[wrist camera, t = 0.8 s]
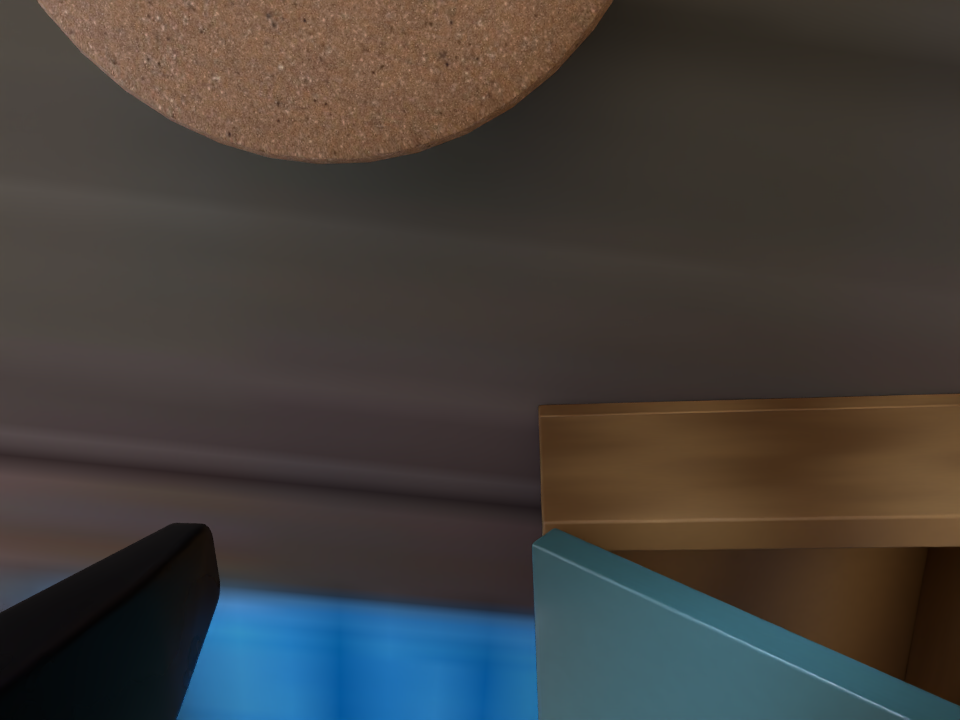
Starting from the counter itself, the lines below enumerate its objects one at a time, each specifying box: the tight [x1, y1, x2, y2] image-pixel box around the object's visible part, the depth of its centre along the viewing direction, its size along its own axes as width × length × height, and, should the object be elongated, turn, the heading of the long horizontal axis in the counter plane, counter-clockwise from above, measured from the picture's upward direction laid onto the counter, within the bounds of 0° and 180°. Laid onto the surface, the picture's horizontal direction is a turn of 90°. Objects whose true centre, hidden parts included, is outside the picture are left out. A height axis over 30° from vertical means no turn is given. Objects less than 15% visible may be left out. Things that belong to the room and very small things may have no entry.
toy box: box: [538, 394, 960, 706], centre depth 22 cm, size 12×16×6 cm
